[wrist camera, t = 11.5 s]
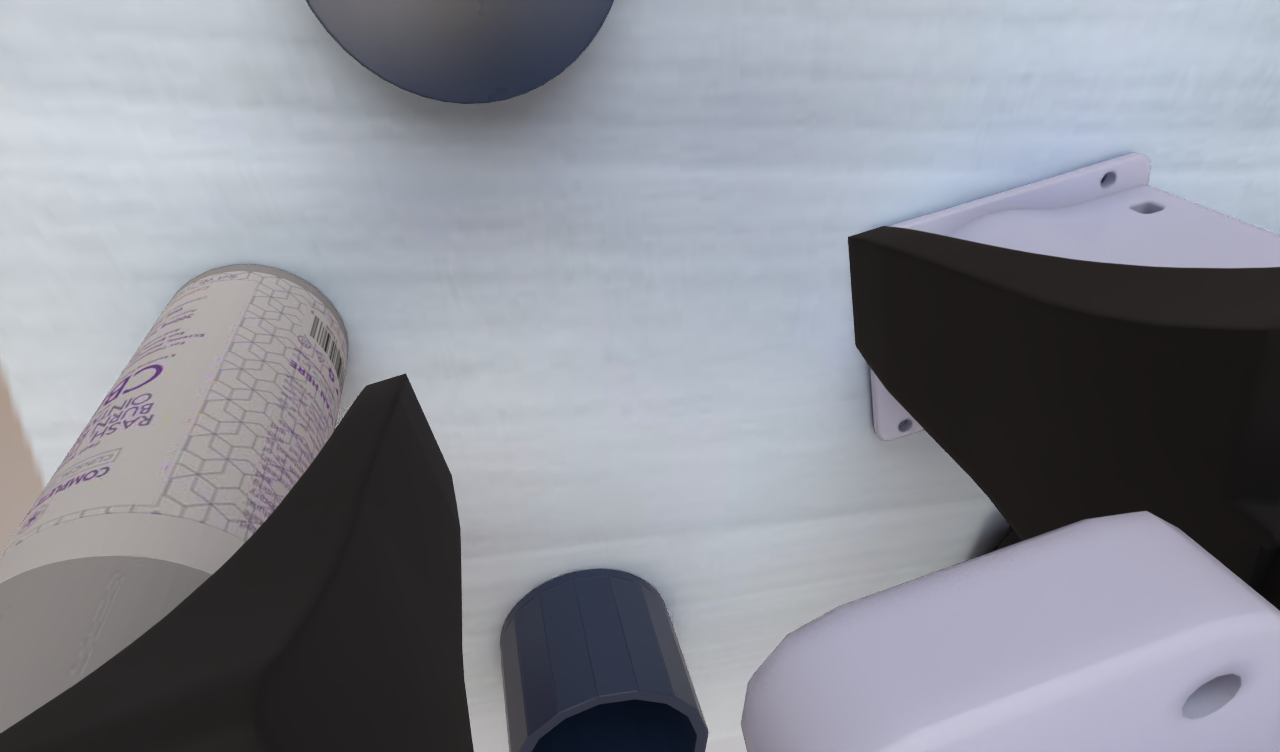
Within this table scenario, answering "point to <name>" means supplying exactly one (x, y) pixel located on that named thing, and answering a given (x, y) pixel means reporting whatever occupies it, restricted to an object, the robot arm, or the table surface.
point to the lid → (463, 42)
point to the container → (169, 474)
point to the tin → (597, 670)
